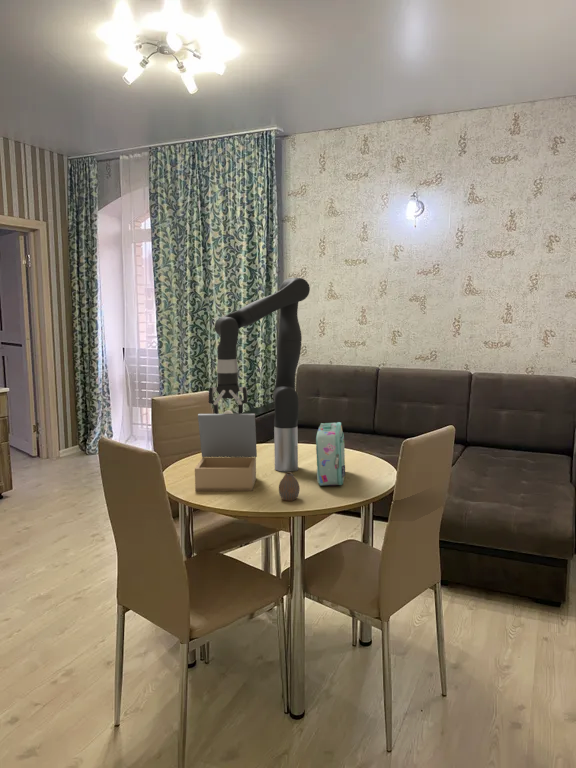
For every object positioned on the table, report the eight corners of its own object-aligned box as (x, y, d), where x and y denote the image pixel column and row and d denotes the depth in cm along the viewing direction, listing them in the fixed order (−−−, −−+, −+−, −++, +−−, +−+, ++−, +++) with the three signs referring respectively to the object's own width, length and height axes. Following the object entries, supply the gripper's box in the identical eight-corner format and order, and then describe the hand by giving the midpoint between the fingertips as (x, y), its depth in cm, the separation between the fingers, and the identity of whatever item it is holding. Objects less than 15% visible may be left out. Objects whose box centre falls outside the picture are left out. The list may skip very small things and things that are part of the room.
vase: (276, 496, 189) (276, 471, 188) (296, 495, 191) (296, 470, 190) (281, 503, 183) (281, 476, 182) (301, 501, 184) (301, 475, 183)
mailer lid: (256, 457, 211) (257, 447, 217) (254, 414, 203) (256, 405, 209) (201, 457, 211) (204, 447, 218) (197, 415, 204) (200, 406, 210)
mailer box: (256, 478, 212) (255, 457, 211) (252, 490, 196) (252, 468, 195) (203, 478, 212) (202, 457, 211) (195, 490, 196) (194, 468, 196)
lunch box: (345, 490, 196) (345, 430, 193) (315, 490, 196) (315, 429, 194) (344, 470, 222) (344, 416, 220) (318, 470, 223) (318, 416, 220)
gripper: (247, 370, 212) (248, 412, 214) (209, 370, 212) (211, 413, 214) (245, 372, 205) (246, 416, 206) (206, 372, 205) (207, 416, 207)
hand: (228, 414), depth 210 cm, fingers open, 8 cm apart
